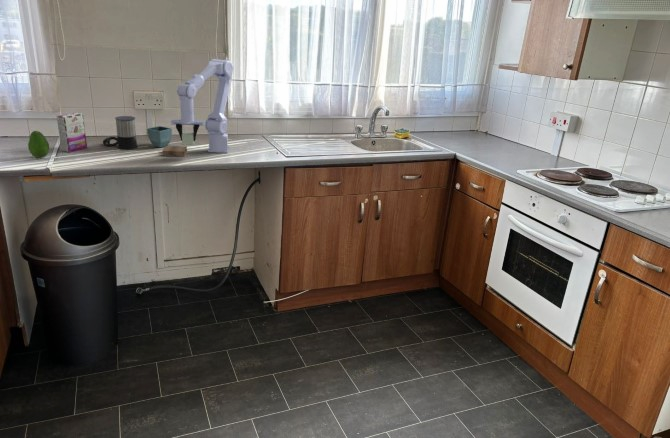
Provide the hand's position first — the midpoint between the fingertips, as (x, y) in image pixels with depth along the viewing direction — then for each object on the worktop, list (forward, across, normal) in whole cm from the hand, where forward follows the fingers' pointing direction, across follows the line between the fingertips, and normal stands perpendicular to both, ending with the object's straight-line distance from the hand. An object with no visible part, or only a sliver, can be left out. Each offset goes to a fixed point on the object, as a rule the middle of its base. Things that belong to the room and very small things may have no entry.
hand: (188, 140), depth 235 cm
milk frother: (+9, -34, +18) cm, 39 cm away
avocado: (+9, -62, -6) cm, 63 cm away
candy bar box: (+9, -53, +10) cm, 55 cm away
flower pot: (+9, -16, +21) cm, 28 cm away
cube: (+2, 0, 0) cm, 2 cm away
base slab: (+8, -7, +7) cm, 13 cm away
